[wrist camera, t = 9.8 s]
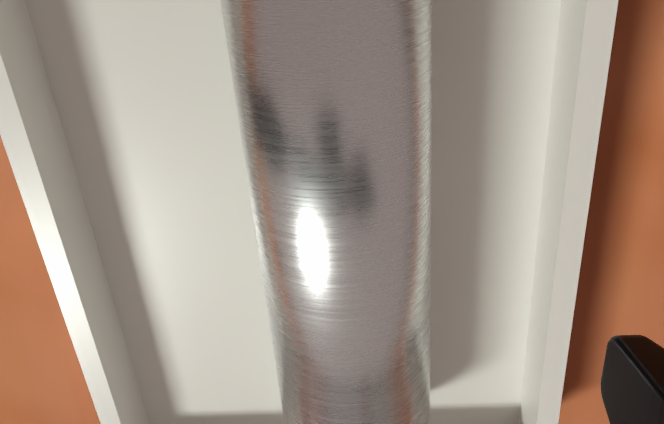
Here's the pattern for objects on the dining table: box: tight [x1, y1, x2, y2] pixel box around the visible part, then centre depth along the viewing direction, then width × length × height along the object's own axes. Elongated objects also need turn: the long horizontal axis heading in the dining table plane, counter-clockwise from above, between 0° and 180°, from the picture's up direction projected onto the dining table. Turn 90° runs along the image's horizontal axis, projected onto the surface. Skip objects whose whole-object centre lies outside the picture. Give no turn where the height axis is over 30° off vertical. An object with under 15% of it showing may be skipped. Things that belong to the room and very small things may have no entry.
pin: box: [220, 0, 432, 424], centre depth 14 cm, size 16×4×4 cm, turn 4°
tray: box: [0, 0, 618, 424], centre depth 15 cm, size 21×13×2 cm, turn 4°
